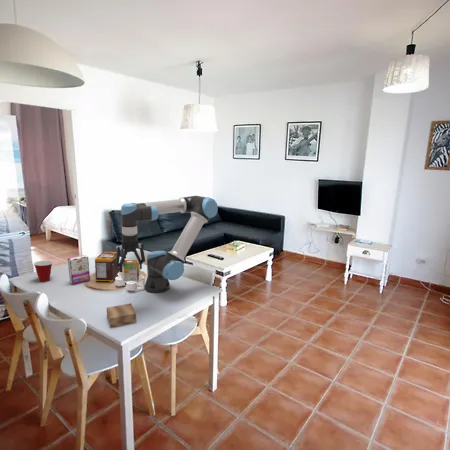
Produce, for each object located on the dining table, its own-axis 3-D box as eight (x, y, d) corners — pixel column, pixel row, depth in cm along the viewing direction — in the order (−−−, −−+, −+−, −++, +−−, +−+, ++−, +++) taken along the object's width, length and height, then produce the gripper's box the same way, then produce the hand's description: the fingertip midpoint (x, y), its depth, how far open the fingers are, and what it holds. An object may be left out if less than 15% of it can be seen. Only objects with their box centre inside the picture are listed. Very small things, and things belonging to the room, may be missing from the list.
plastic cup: (57, 279, 205) (56, 261, 202) (40, 284, 196) (38, 266, 194) (49, 275, 211) (47, 258, 208) (32, 280, 202) (30, 262, 200)
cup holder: (112, 286, 196) (111, 275, 195) (126, 281, 205) (126, 270, 204) (133, 294, 185) (132, 282, 184) (147, 288, 194) (147, 277, 192)
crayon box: (138, 279, 168) (138, 258, 166) (137, 281, 165) (136, 260, 163) (125, 279, 168) (124, 258, 166) (123, 281, 165) (122, 259, 163)
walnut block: (131, 312, 165) (131, 303, 164) (136, 322, 154) (135, 313, 153) (107, 316, 159) (106, 307, 158) (110, 328, 149) (109, 318, 148)
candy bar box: (87, 278, 207) (85, 254, 204) (90, 280, 204) (88, 256, 201) (69, 282, 200) (67, 258, 196) (72, 285, 196) (70, 259, 193)
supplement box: (119, 273, 216) (119, 252, 213) (112, 282, 201) (111, 259, 198) (104, 273, 216) (103, 251, 213) (95, 282, 201) (94, 258, 198)
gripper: (147, 230, 170) (147, 271, 175) (107, 234, 159) (109, 277, 164) (151, 233, 164) (152, 275, 168) (110, 237, 153) (112, 282, 158)
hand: (131, 276), depth 166 cm, fingers closed on crayon box, 8 cm apart
